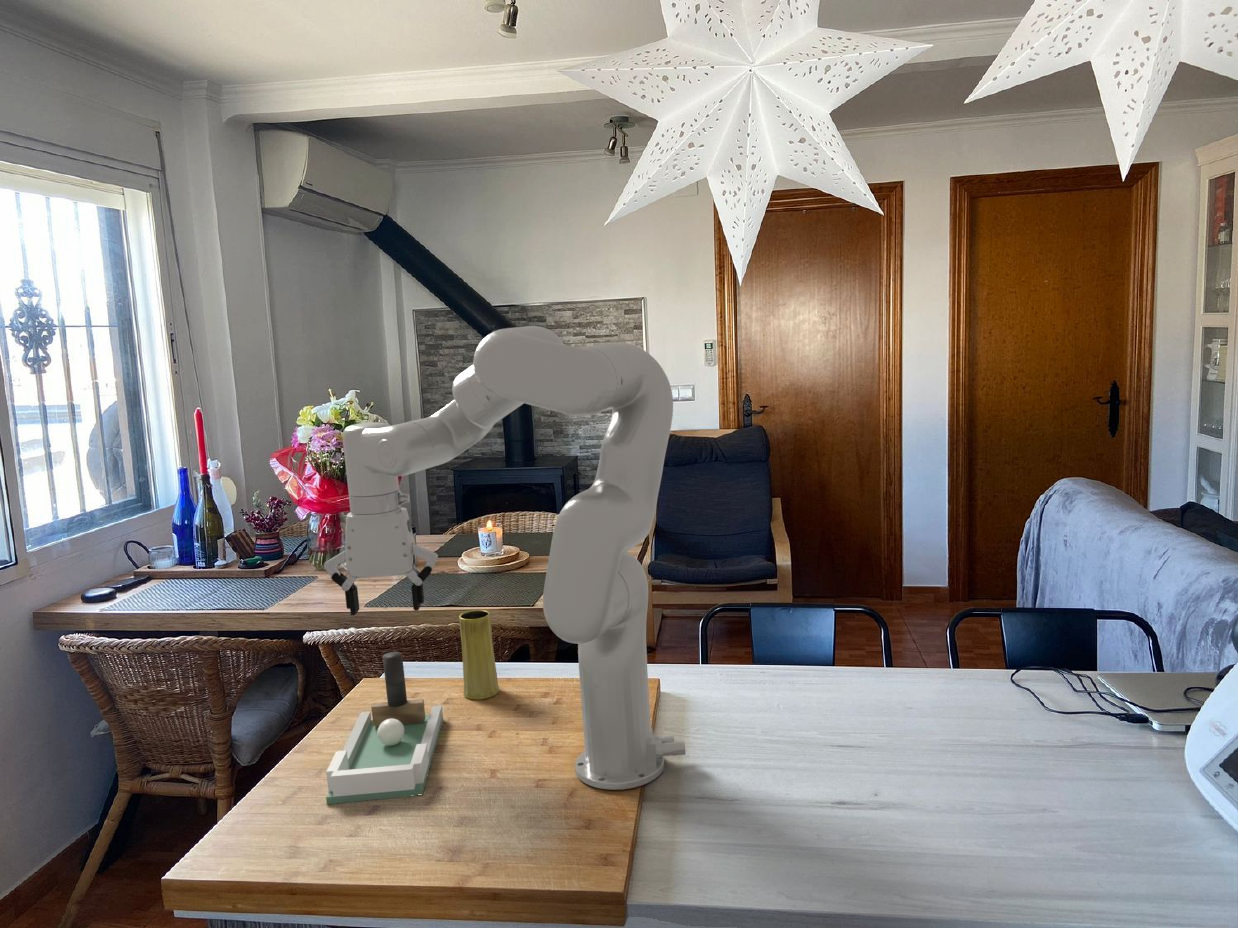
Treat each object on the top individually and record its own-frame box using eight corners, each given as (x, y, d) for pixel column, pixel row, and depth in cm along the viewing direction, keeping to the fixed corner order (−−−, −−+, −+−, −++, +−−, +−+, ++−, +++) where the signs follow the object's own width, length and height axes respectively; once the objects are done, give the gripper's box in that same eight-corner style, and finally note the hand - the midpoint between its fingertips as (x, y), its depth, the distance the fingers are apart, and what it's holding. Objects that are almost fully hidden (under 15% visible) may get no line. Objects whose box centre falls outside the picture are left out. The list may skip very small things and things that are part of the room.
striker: (426, 715, 151) (419, 649, 149) (423, 723, 148) (416, 656, 146) (376, 719, 150) (368, 653, 148) (372, 727, 147) (364, 660, 145)
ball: (407, 737, 144) (404, 712, 143) (403, 749, 140) (400, 724, 140) (381, 739, 144) (378, 715, 143) (376, 751, 140) (373, 726, 139)
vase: (506, 691, 162) (499, 612, 159) (478, 703, 157) (471, 622, 155) (484, 683, 166) (477, 606, 163) (456, 694, 161) (449, 616, 159)
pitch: (443, 719, 152) (440, 696, 151) (422, 795, 128) (419, 768, 128) (362, 726, 151) (359, 703, 151) (326, 803, 128) (323, 776, 127)
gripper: (435, 494, 147) (444, 598, 150) (324, 502, 146) (335, 606, 149) (428, 504, 140) (439, 613, 143) (311, 512, 139) (324, 622, 142)
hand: (386, 610), depth 146 cm, fingers open, 9 cm apart
